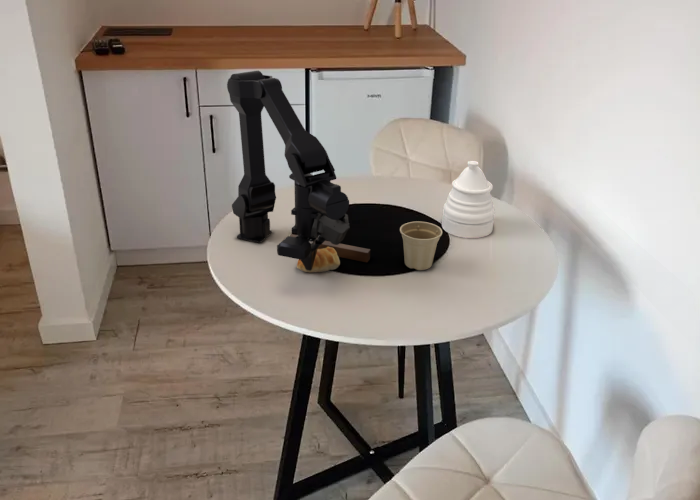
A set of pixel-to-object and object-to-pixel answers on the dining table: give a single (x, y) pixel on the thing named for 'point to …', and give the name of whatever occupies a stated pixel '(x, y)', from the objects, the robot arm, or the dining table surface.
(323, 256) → the pastry
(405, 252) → the flower pot
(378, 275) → the dining table surface
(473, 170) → the honey pot
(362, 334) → the dining table surface
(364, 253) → the strip
